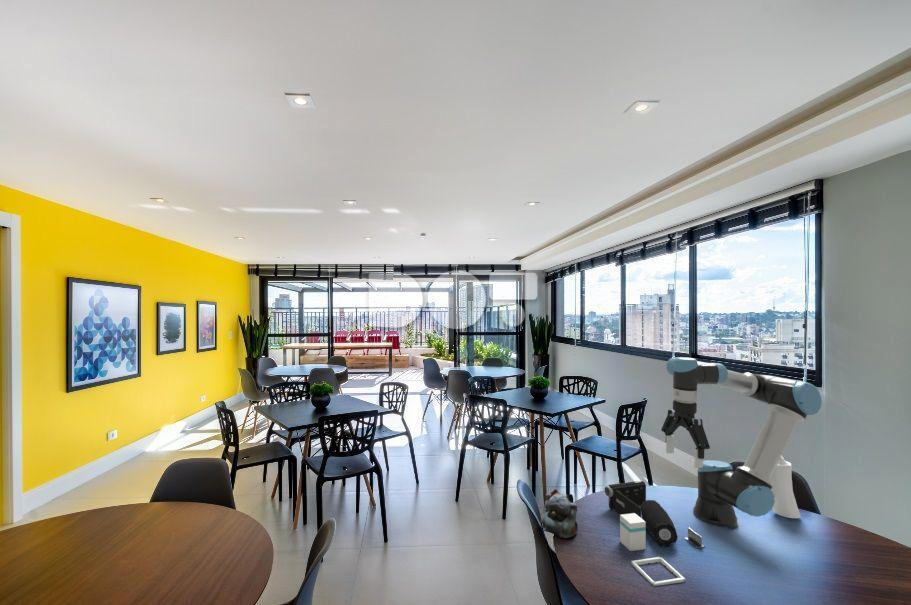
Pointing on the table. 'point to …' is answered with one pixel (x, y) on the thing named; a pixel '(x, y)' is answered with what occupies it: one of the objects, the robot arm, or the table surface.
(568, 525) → the lucky cat figurine
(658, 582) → the tray
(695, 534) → the card holder
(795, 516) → the white bottle
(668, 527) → the portable speaker
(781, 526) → the table surface
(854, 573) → the table surface
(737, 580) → the table surface
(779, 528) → the table surface
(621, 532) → the block
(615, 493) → the camcorder
